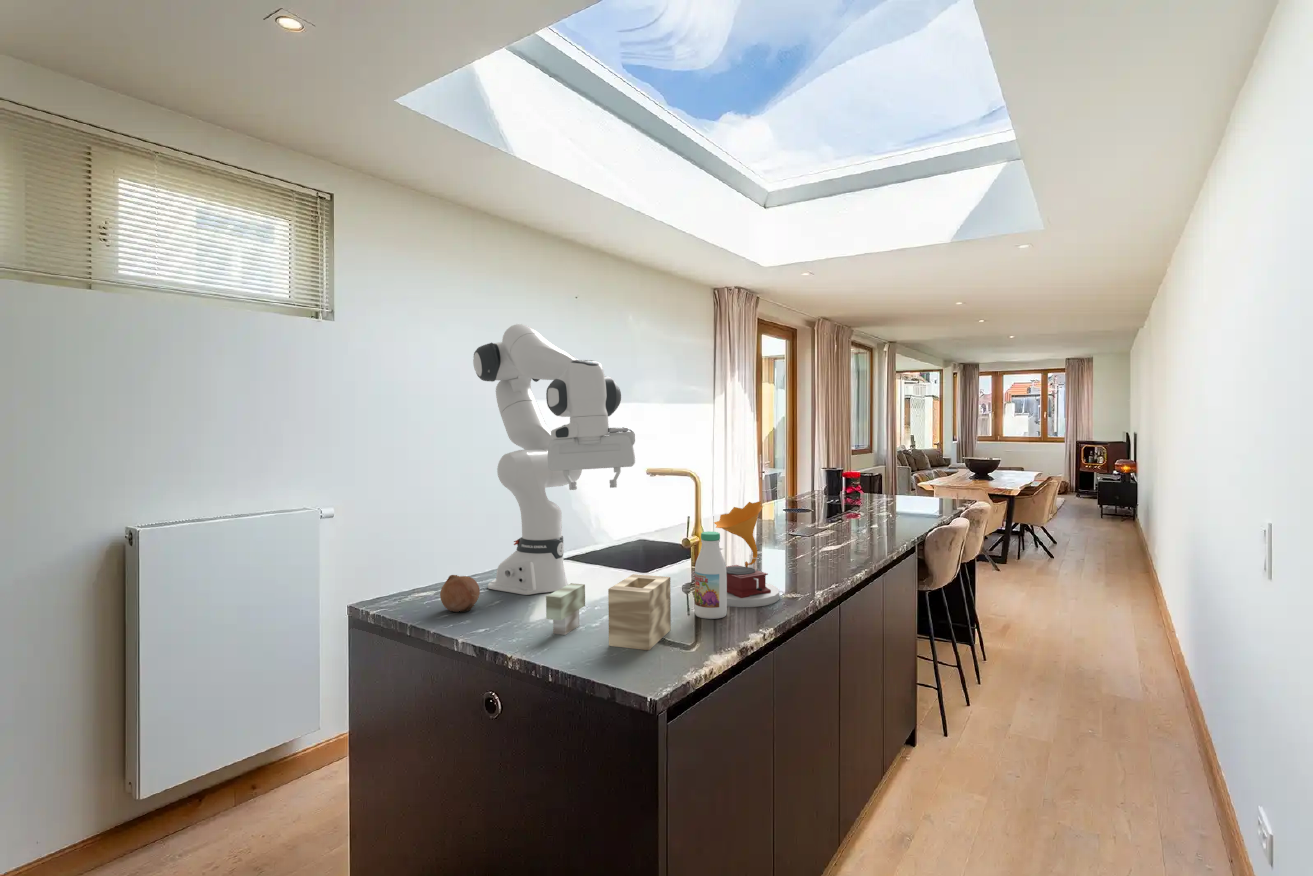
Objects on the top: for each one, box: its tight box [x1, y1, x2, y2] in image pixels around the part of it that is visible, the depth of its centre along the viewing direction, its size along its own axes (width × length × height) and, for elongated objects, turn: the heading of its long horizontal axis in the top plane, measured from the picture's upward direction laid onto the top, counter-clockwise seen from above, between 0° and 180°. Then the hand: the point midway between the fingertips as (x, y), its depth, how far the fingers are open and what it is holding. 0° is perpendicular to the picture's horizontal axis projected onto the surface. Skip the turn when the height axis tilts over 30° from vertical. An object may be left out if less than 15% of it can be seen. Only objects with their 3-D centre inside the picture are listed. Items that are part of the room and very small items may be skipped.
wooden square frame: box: [607, 573, 672, 651], centre depth 149 cm, size 14×9×12 cm, turn 160°
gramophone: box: [713, 501, 780, 608], centre depth 182 cm, size 20×20×25 cm
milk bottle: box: [694, 531, 728, 620], centre depth 165 cm, size 8×8×20 cm
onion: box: [439, 574, 481, 613], centre depth 171 cm, size 10×9×10 cm
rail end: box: [545, 582, 586, 636], centre depth 155 cm, size 12×4×9 cm, turn 160°
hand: (593, 488), depth 159 cm, fingers open, 8 cm apart
